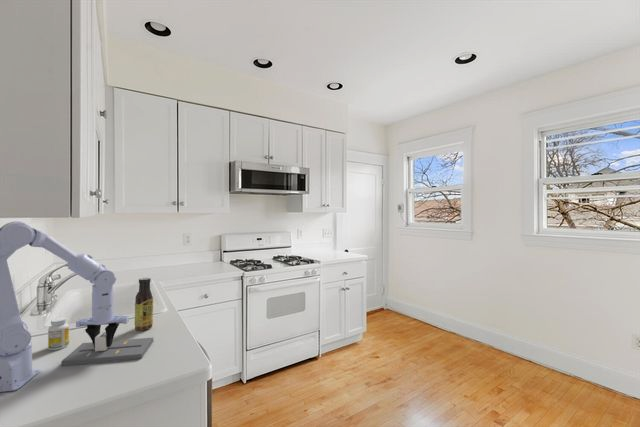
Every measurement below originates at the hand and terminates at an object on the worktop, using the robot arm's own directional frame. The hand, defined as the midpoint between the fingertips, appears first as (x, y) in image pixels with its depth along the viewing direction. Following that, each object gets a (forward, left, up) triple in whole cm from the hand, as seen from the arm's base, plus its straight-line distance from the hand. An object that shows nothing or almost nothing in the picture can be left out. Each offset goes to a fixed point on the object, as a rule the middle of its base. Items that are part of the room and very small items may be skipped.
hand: (103, 346), depth 99 cm
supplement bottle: (+8, +17, -3) cm, 19 cm away
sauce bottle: (+19, -6, -3) cm, 20 cm away
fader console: (0, -2, -2) cm, 3 cm away
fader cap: (0, 0, -1) cm, 1 cm away
